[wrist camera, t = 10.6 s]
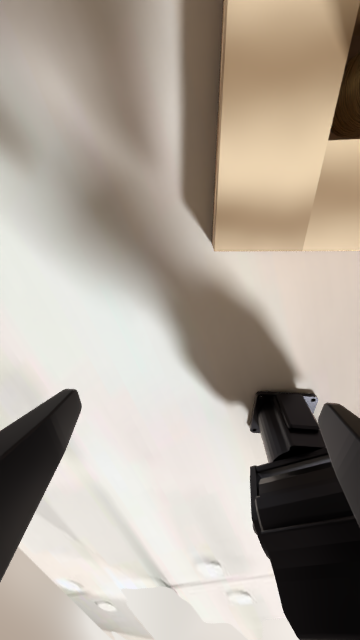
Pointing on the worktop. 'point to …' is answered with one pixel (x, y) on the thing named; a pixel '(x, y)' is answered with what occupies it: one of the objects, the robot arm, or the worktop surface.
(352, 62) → the pin
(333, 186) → the bore block
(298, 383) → the worktop surface
